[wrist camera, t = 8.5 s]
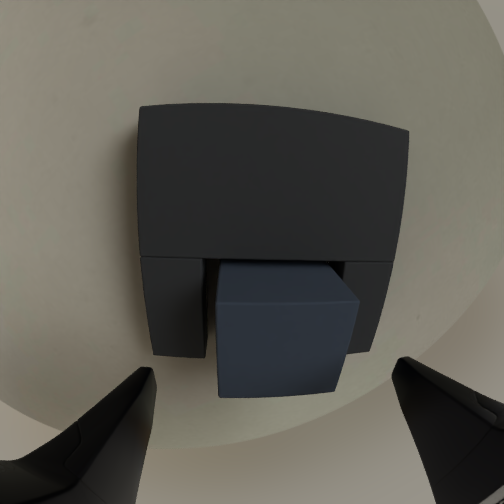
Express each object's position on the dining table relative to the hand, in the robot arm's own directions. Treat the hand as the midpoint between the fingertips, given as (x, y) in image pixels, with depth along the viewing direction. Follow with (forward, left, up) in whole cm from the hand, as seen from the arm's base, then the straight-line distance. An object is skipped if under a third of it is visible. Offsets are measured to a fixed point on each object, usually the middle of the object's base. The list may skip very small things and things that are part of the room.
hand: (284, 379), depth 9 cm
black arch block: (+3, 0, -6) cm, 7 cm away
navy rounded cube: (0, 0, -6) cm, 6 cm away
